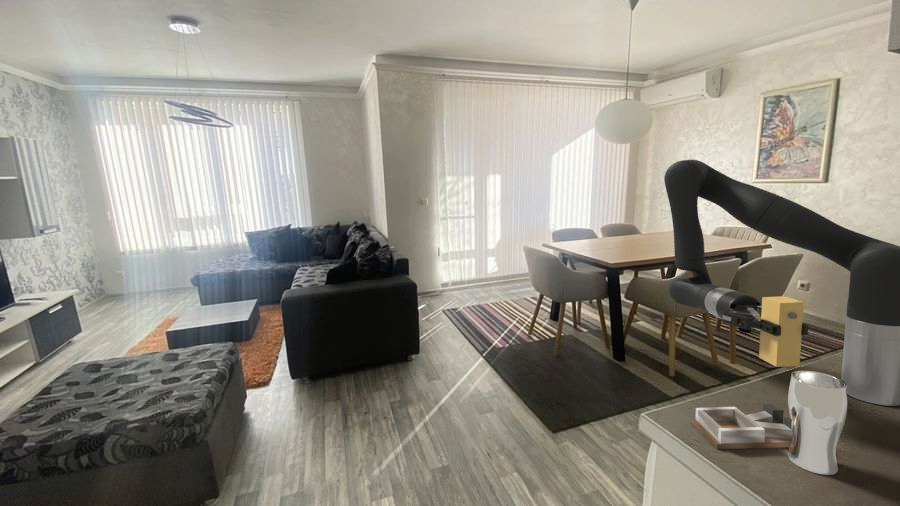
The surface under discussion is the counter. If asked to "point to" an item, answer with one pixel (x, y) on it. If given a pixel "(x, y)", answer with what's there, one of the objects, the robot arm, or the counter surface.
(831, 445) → the beer glass
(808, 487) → the counter surface
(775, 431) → the coupling board
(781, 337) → the yellow knobbed block
